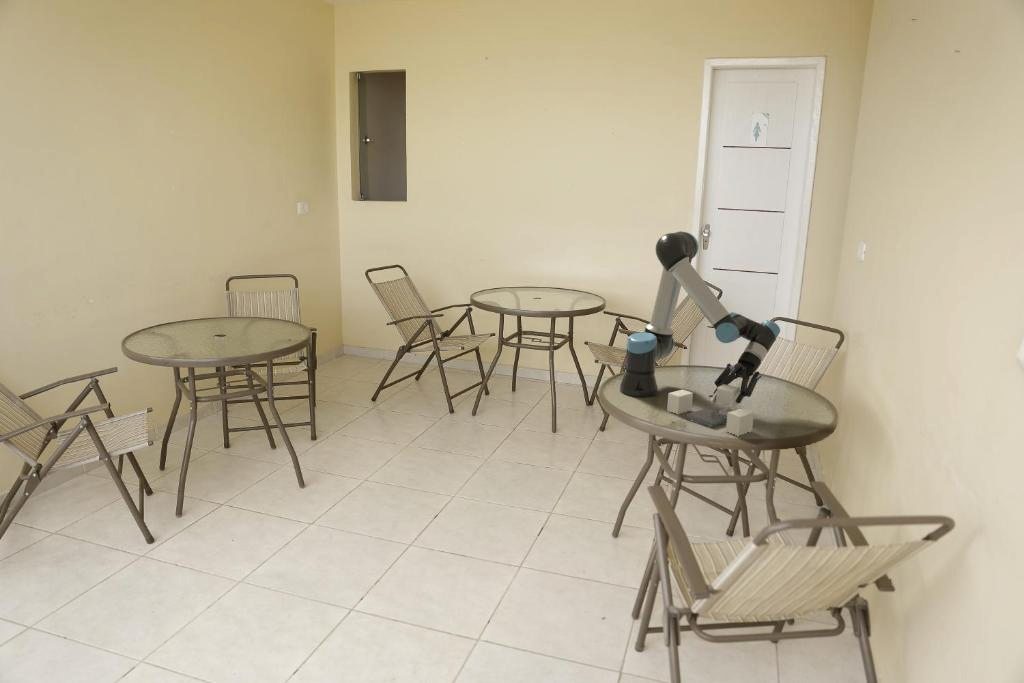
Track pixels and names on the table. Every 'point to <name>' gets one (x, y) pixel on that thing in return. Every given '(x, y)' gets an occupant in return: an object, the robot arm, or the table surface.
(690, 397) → the mounted modules
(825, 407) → the table surface
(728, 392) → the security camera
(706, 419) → the mount plate
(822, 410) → the table surface
